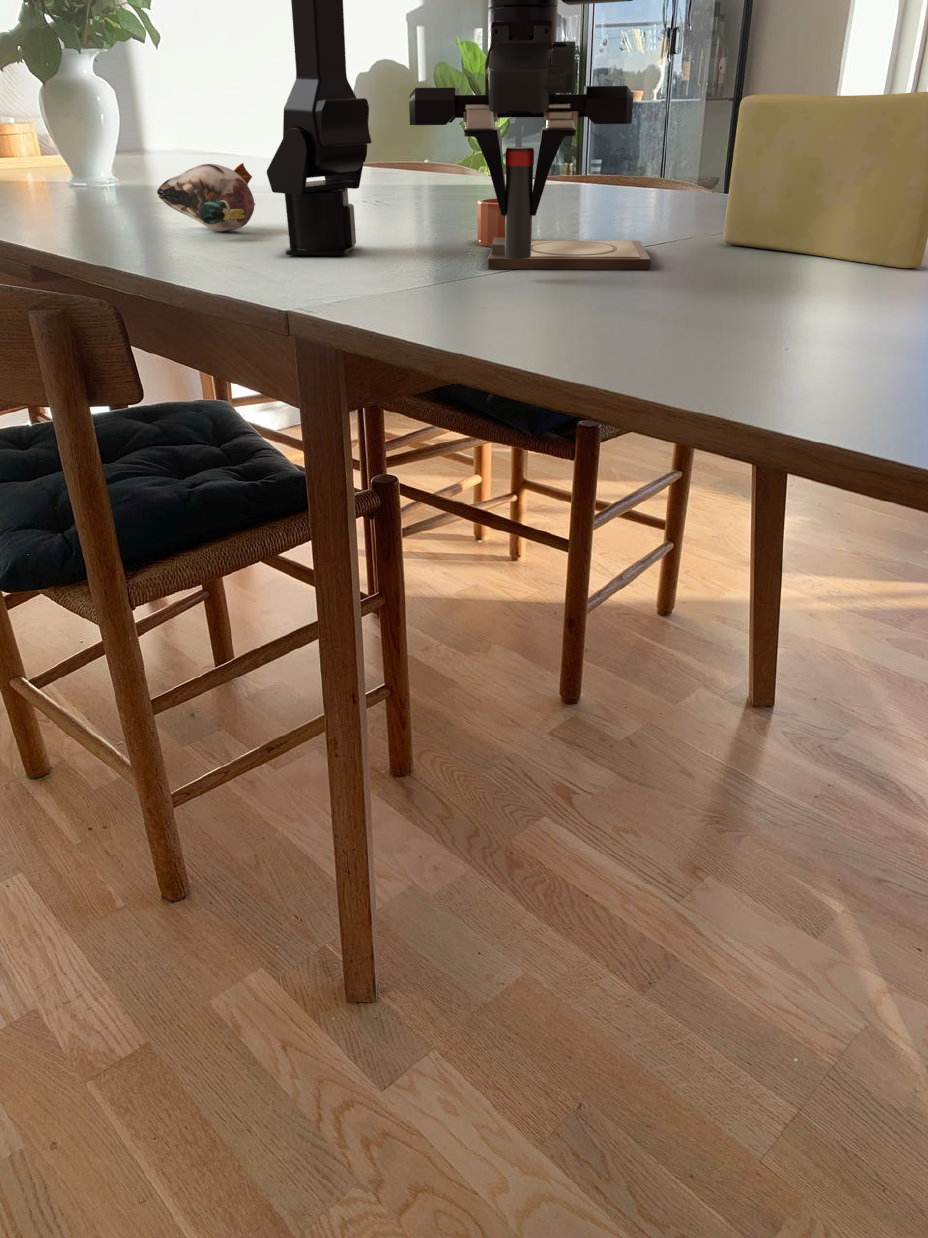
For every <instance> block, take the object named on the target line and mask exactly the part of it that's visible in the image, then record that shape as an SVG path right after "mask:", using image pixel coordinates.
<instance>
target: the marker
mask: <svg viewBox="0 0 928 1238" xmlns="http://www.w3.org/2000/svg"><path fill="white" fill-rule="evenodd" d="M534 165H535V149H534V147H533V146H508V147H506V150H505V184H506V216H505V257H506V258H512V259H524V258H529V257H531V241H532V238H531V228H532V229H533V216H532V215H531V207H532V192H533V186H534Z"/></svg>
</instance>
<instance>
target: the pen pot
mask: <svg viewBox="0 0 928 1238" xmlns="http://www.w3.org/2000/svg"><path fill="white" fill-rule="evenodd" d="M476 213H477V215H476V216H477V228H476V229H477V230H476V231H477V238H476V239H477V244H478V245H479V246H482V247H488V248H489V247H490V248H492V243H493V240H494V238H495V237H505V216H502V215H501V212H500V208H499V204H498V201H497V197H490V198H481V199H478V200H477V212H476ZM532 233H533V227H532V228H531V239H532V236H533V235H532Z"/></svg>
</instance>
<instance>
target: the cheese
mask: <svg viewBox="0 0 928 1238" xmlns="http://www.w3.org/2000/svg"><path fill="white" fill-rule="evenodd" d="M732 155H733V156H732V164H731V171H730V179H729V187H728V195H727V201H726V208H725V216H724V225H723V226H724V227H723V233H722V240H723V242H724V243H725V244H727V245H734V246H741V247H749V248H757V249H765V250H772V251H773V250H774V251H780V252H788V253H795V254H803V255H811V256H818V257H825V258H830V259H831V258H832V259H836V260H837V259H838V260H844V261H851V262H857V263H864V264H869V265H877V266H885V267H891V268H897V269H912V268H918V267H920V266H921V265H922V263H923V261H924V256H925V251H926V247H927V242H928V91H913V92H905V93H904V92H903V93H901V92H900V93H889V94H861V95H860V94H859V95H832V94H831V95H829V94H828V95H827V94H807V93H763V94H751V95H747V96H745V97H743V98H742V99H741V101H740V104H739V107H738V117H737V124H736V133H735V141H734V148H733V154H732Z"/></svg>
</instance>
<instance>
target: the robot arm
mask: <svg viewBox="0 0 928 1238" xmlns="http://www.w3.org/2000/svg"><path fill="white" fill-rule="evenodd" d="M633 1H634V0H561V2H562V3H564V4H566V5H568V6H578V5H593V4H608V3H623V2H624V3H625V2H633ZM290 2H291V3H290V4H291V16H292V17H291V18H292V31H293V33H292V34H293V46H294V60H295V61H294V62H295V80H294V82H293V85H292V88H291V89H290V91H289V95H288V98H287V100H286V102H285V104H284V107H283V119H282V120H283V121H282V122H283V123H282V125H283V126H282V139H281V142H280V143H279V146H278V148H277V150H276V151H275V153H274V155H273V157H272V159H271V161H270V164H269V165H268V167H267V169H266V176H267V179H268V182H269V186H270V189H271V192H272V193H273V194H274V193H275V194H284V200H285V211H286V221H287V230H288V232H287V233H288V242H289V248H287V249H286V250H285V255H286V256H345V255H347V254H348V253H349V252H350V251H352V250H353V249H354V248H356V247H355V246H356V244H357V236H356V235H357V234H356V221H355V219H356V218H355V206H354V205H353V203H349V192H348V189H353V190H357V189H359V188H360V185H361V180H362V175H363V174H362V173H363V169H364V163H365V162H366V159H367V155H368V145H369V144H372V138H371V134H370V128H369V127H370V126H369V119H370V118H369V117H370V106H369V101H368V99H367V98H366V97H359V98H358V97H357V95H356V94H355V92H354V89H353V88H352V86H351V84H350V82H349V79H348V75H347V60H346V58H347V57H346V41H345V40H346V37H345V34H346V33H345V15H344V13H345V12H344V0H290ZM487 2H488V3H487V8H488V9H487V55H486V58H485V62H484V94H461V90H460V88H461V87H460V86H449V87H448V86H444V87H443V86H440V87H439V86H438V87H437V86H436V87H430V86H429V87H427V86H425V87H415V88H414V89H413V90H412V92H411V93H410V94H409V97H408V98H409V99H408V101H409V102H408V110H409V111H408V114H409V126H446V125H447V124H449V123H450V124H451V123H453V122H454V120H456V119H462V120H463V123H465V129H463V136H464V137H468V138H474V139H475V141H476V142H477V144H478V147H479V149H480V151H481V153H482V155H483V158H484V160H485V163H486V165H487V169H488V172H489V175H490V178H491V181H492V185H493V189H494V193H495V196H496V197H495V198H497V201H498V204H499V208H500V212H501V215H502V216H506V172H505V163H504V154H503V153H504V152H503V143H502V132H501V126H496V123H498V121H499V119H500V118H501V119H502V118H505V119H506V118H508V119H509V118H543V122H546V125H545V126H542V127H541V133H540V138H539V139H540V140H539V148H538V153H537V159H536V167H535V172H534V173H535V174H534V178H533V192H532V207H531V215H532V217H535V216H537V212H538V210H539V207H540V202H541V201H542V197H543V193H544V190H545V186H546V183H547V180H548V176H549V173H550V170H551V168H552V165H553V163H554V160H555V158H556V157H557V154H558V151H559V150H560V147H561V145H562V143H563V141H564V139H565V138H566V137H576V136H577V131H578V129H577V128H576V122H578V121H579V118H587V119H589V121H590V122H592V124H594V125H630V124H631V125H632V123H633V110H634V108H633V107H634V93H633V91H632V90H631V89H630V88H629V86H628V85H584V88H583V93H573V92H574V89H575V88H574V87H575V70H576V47H577V46H576V41H573V40H570V41H569V40H567V41H564V40H563V41H558V40H557V37H558V36H557V35H558V11H559V10H558V7H559V6H558V5H559V0H487ZM321 177H324V179H320V180H311V181H308V179H312V178H321Z"/></svg>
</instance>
